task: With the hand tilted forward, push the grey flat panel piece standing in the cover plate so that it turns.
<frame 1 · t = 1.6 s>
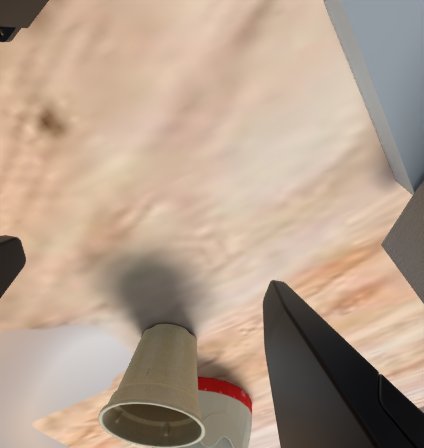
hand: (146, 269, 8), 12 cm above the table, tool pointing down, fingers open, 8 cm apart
flower pot: (171, 337, 31), on the table
grey and red dome: (203, 400, 39), on the table
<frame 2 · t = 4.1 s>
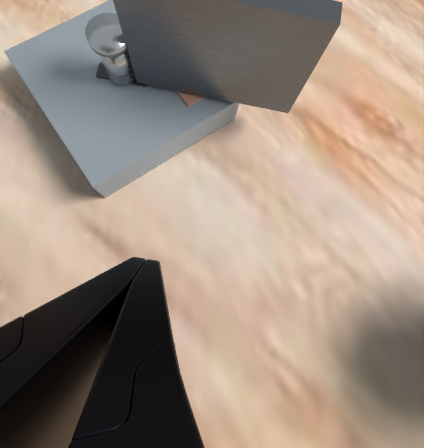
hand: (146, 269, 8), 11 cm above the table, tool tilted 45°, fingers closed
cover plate: (131, 97, 22), on the table
grey flat panel piece: (198, 46, 16), point 6 cm above the table, hinge at 0.0°
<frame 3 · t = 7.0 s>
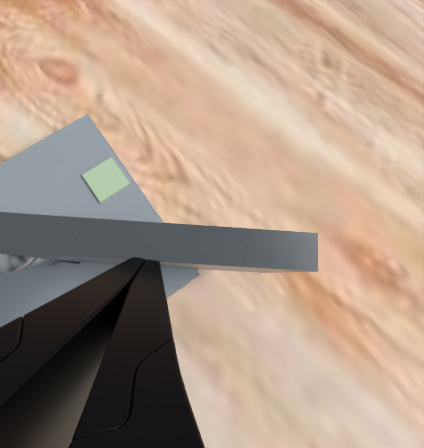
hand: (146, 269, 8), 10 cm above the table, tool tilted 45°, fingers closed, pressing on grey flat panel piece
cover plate: (70, 252, 18), on the table
grey flat panel piece: (130, 249, 12), point 6 cm above the table, hinge at 6.1°, touching gripper
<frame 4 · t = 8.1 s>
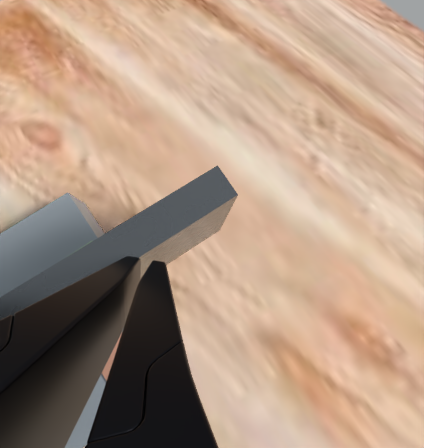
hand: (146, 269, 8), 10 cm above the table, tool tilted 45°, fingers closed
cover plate: (50, 333, 17), on the table
grey flat panel piece: (88, 289, 11), point 6 cm above the table, hinge at 43.0°, touching gripper
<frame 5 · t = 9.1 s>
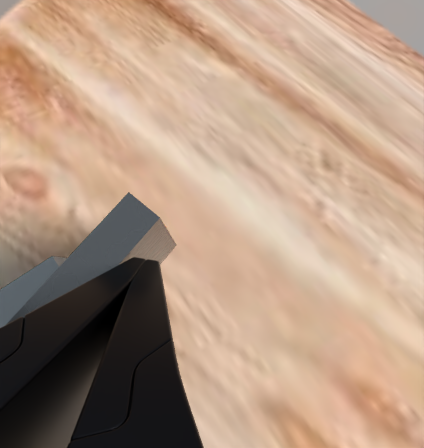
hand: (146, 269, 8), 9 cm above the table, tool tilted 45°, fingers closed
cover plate: (34, 407, 15), on the table
grey flat panel piece: (42, 361, 10), point 6 cm above the table, hinge at 60.2°, touching gripper
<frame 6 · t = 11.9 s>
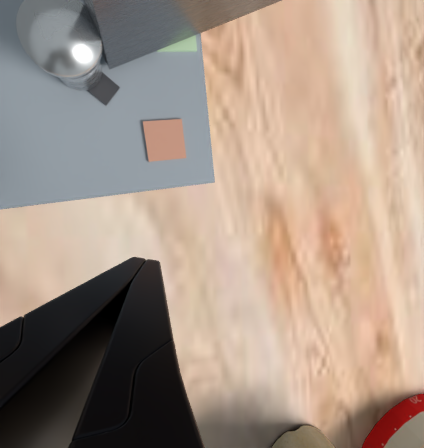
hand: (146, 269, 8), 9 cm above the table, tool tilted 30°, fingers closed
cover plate: (87, 84, 15), on the table
grey and red dome: (405, 445, 31), on the table
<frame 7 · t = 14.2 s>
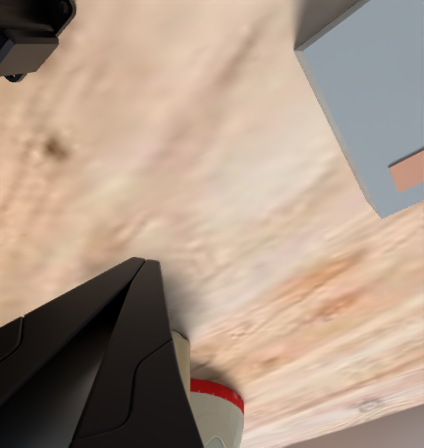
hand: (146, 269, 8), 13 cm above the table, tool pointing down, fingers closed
flower pot: (166, 341, 33), on the table
grey and red dome: (197, 401, 41), on the table
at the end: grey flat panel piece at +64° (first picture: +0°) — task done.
